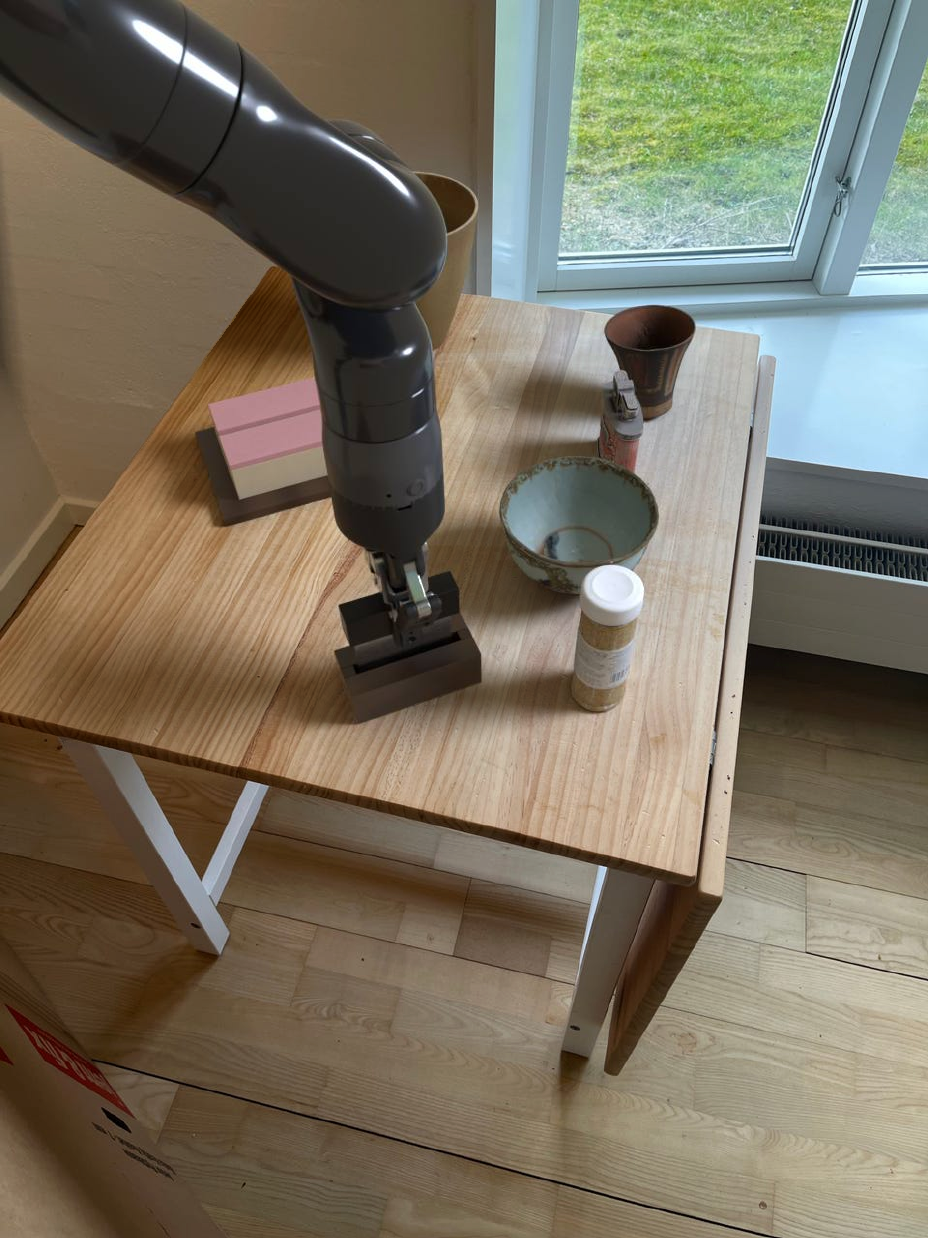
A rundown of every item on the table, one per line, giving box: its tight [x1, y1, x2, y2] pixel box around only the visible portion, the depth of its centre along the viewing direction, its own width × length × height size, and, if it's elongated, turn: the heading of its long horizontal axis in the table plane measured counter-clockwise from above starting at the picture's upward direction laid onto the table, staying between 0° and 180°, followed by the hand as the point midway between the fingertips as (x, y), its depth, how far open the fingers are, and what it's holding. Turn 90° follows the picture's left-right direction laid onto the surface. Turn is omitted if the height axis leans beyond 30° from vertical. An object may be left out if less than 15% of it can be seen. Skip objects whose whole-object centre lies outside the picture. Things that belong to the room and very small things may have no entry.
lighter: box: [595, 369, 644, 474], centre depth 92 cm, size 8×3×10 cm, turn 6°
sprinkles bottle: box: [570, 565, 645, 712], centre depth 74 cm, size 5×5×13 cm
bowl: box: [498, 455, 660, 595], centre depth 84 cm, size 14×13×8 cm
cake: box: [219, 410, 327, 500], centre depth 93 cm, size 11×4×4 cm, turn 112°
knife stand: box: [333, 612, 483, 725], centre depth 78 cm, size 11×5×4 cm, turn 112°
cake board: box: [194, 426, 331, 527], centre depth 97 cm, size 15×14×1 cm
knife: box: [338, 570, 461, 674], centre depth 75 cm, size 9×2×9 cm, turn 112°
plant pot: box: [412, 171, 479, 351], centre depth 104 cm, size 15×15×16 cm
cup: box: [603, 304, 697, 419], centre depth 98 cm, size 9×9×10 cm
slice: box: [207, 377, 320, 464], centre depth 97 cm, size 11×4×4 cm, turn 112°
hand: (402, 628), depth 74 cm, fingers closed on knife, 2 cm apart
